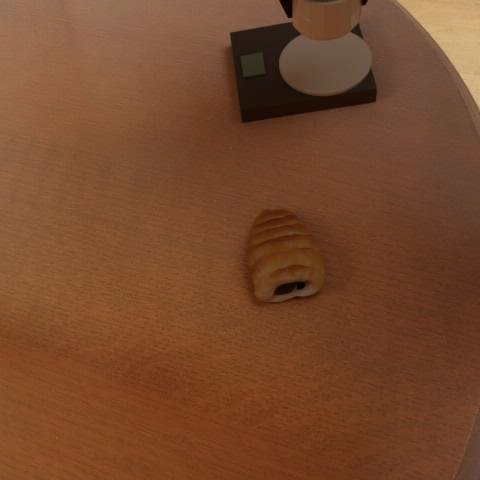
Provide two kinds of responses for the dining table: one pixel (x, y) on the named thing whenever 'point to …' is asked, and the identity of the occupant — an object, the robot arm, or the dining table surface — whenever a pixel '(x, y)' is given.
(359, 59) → the scale
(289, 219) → the pastry
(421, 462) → the dining table surface
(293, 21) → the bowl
